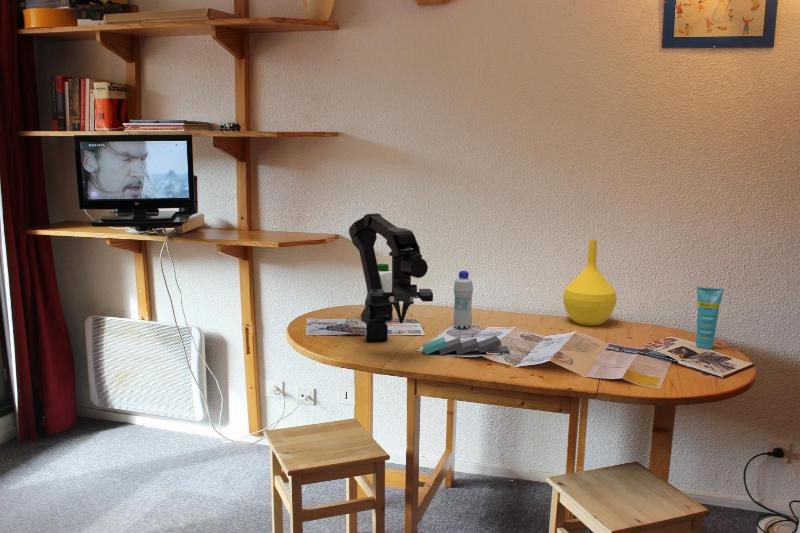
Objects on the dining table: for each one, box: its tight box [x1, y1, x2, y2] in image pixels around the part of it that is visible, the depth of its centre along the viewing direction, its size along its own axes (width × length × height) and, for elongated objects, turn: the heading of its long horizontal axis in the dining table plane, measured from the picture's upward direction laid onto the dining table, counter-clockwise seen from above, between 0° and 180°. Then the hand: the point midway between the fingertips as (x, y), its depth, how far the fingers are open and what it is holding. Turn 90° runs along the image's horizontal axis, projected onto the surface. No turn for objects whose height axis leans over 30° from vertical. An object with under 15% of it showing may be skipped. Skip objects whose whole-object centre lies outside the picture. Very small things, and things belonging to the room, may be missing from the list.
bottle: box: [453, 270, 474, 330], centre depth 233 cm, size 7×7×20 cm
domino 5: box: [486, 345, 511, 355], centre depth 208 cm, size 2×5×7 cm
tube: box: [695, 286, 724, 350], centre depth 212 cm, size 7×5×19 cm, turn 72°
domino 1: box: [422, 336, 447, 356], centre depth 207 cm, size 2×5×7 cm
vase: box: [562, 238, 617, 327], centre depth 240 cm, size 18×18×30 cm
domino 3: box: [455, 337, 479, 356], centre depth 207 cm, size 2×5×7 cm
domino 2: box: [438, 336, 463, 356], centre depth 207 cm, size 2×5×7 cm
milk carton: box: [366, 263, 394, 321], centre depth 242 cm, size 9×9×20 cm
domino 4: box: [477, 335, 502, 353], centre depth 207 cm, size 2×5×7 cm
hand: (401, 322), depth 205 cm, fingers closed
